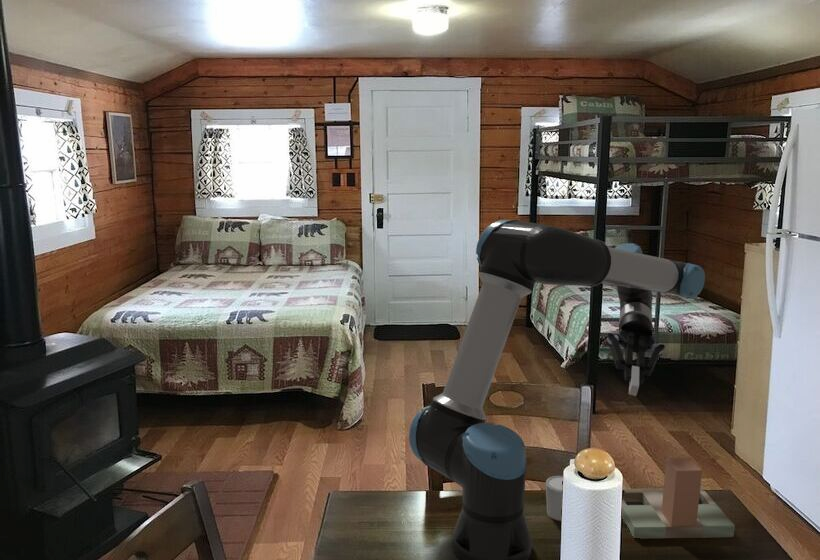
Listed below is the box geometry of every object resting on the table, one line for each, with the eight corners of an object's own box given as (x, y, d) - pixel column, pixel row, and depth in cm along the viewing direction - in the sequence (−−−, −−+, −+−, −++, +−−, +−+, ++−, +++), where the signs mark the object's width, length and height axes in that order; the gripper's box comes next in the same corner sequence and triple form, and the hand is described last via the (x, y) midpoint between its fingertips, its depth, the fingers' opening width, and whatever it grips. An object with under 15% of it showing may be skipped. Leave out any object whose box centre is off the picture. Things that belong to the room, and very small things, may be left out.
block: (661, 512, 139) (666, 458, 136) (685, 512, 139) (690, 458, 136) (671, 526, 134) (676, 470, 131) (696, 525, 134) (702, 470, 132)
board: (610, 499, 148) (611, 489, 148) (701, 498, 149) (702, 487, 148) (633, 538, 134) (634, 527, 134) (733, 537, 135) (734, 525, 134)
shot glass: (578, 524, 139) (579, 493, 138) (544, 520, 140) (545, 489, 139) (576, 506, 146) (578, 476, 144) (544, 503, 147) (545, 473, 146)
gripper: (659, 343, 163) (661, 410, 144) (604, 331, 165) (598, 396, 146) (668, 318, 158) (670, 384, 139) (611, 307, 161) (606, 370, 142)
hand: (633, 390), depth 143 cm, fingers closed
